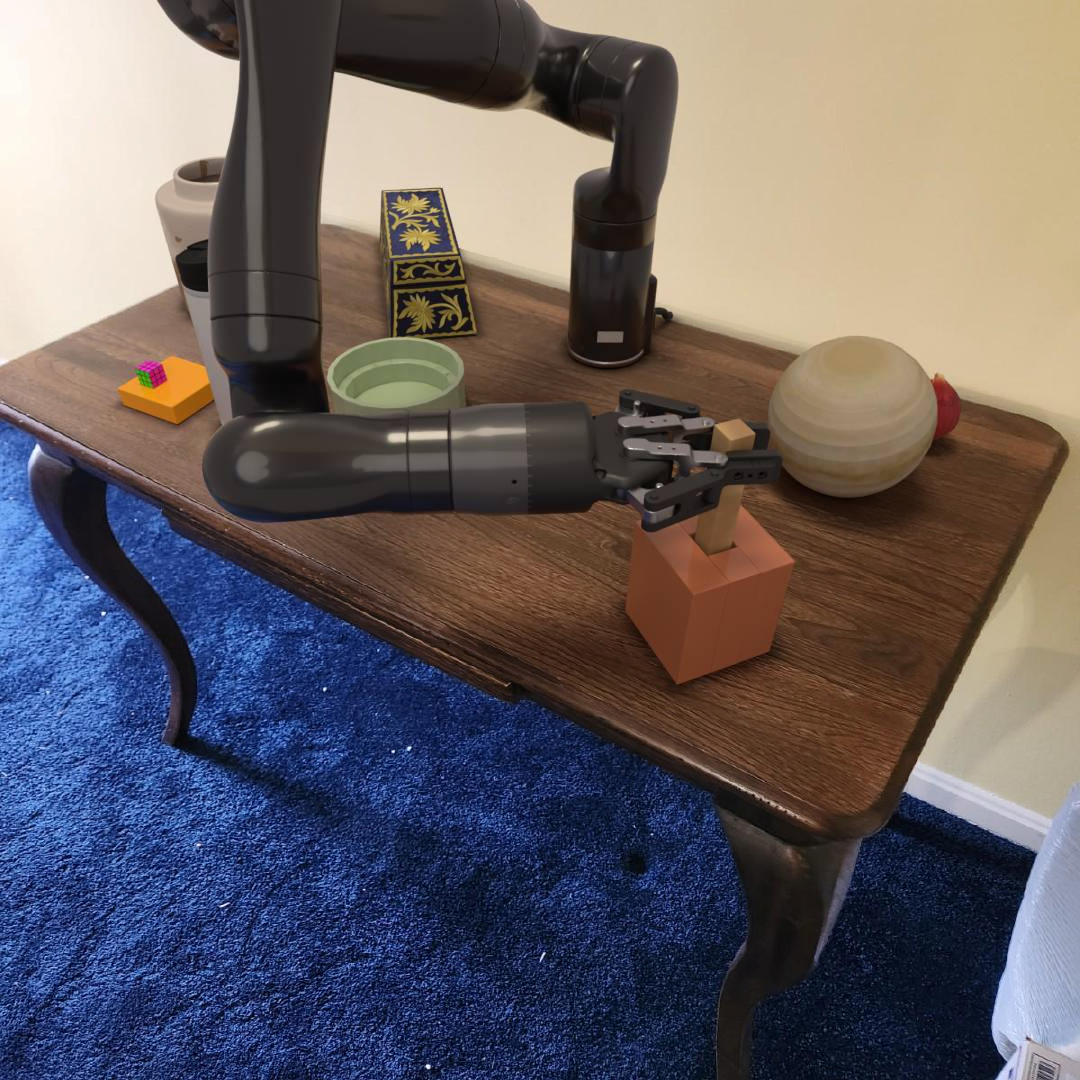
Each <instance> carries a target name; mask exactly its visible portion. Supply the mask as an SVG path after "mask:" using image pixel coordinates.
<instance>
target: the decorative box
mask: <svg viewBox="0 0 1080 1080" xmlns="http://www.w3.org/2000/svg"><path fill="white" fill-rule="evenodd" d="M450 213H451V212H450V210H449V206H448V203H447V199H446V196H445V191H444V187H442V188H441V187H424V188H404V189H403V188H402V189H401V188H400V189H385V190H383V189H382V190H381V191H380V215H379V217H380V219H379V251H380V260H381V269H382V280H383V287H384V288H383V289H384V296H385V297H384V298H385V306H386V315H387V324H388V333H389V338H396V337H412V338H420V339H428V340H432V339H444V338H446V339H447V338H455V337H457V338H458V337H467V336H477V335H478V332H477V328H476V322H475V318H474V312H473V307H472V302H471V298H470V291H469V287H468V282H467V278H466V273H465V269H464V263H463V259H462V254H461V251H460V246H459V243H458V242H459V241H458V239H457V235H456V232H455V228H454V224H453V221H452V217H451V214H450Z"/></svg>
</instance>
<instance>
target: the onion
mask: <svg viewBox="0 0 1080 1080" xmlns="http://www.w3.org/2000/svg"><path fill="white" fill-rule="evenodd" d="M930 381H931V383H932V386H933V388H934V392H935V395H936V399H937V425H936V429H935V433H934V437H933V440H932V441H936V440H939V439H941V438H944V437H945V436H947V435H949V434H950V433H951V432H952V431H953V430H955V428H956V427H957V425H958V423H959V420H960V416H961V411H962V402H961V398H960V395H959V394H958V392H957V391H956V390H955V388H954V387H953V386H952V385H951V384H950V383H949V382H948V380H947V379H946V378H945V375H944V374H943V373H941V372H936V373H935V374H934V377H933V379H931V378H930Z"/></svg>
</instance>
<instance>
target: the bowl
mask: <svg viewBox="0 0 1080 1080" xmlns="http://www.w3.org/2000/svg"><path fill="white" fill-rule="evenodd" d="M464 364H465V363H464V361H463V360H462V358H461V357H460V355H459V354H458V353H457V351H455V350H453V349H452V348H451V347H448V346H447V345H446V344H443V343H440V342H437V341H434V340H432V339H420V338H412V337H396V338H390V337H385V338H380V339H375V340H370V341H366V342H363V343H362V344H361V343H360V344H358V345H356V346H353V347H351V348H348V349H347V350H346V351H344V352H343V353H341V354H340V355H338V356H337V357H336V358H335V359H334V360H333V362H332V363H331V364H330V365H329V367H328V368H327V375H326V385H327V388H328V389H327V390H328V394H329V395H328V396H329V399H330V405H331V410H332V413H343V414H374V413H382V412H390V411H398V410H418V409H450V411H451V409H453V408H463V407H467V399H466V398H467V397H466V379H465V365H464Z"/></svg>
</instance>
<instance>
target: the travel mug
mask: <svg viewBox="0 0 1080 1080" xmlns="http://www.w3.org/2000/svg"><path fill="white" fill-rule="evenodd" d="M175 260H176V263H177V267H178V271H179V273H180V278H181V283H182V287H183V289H184V294H185V298H186V301H187V305H188V308H189V312H190V314H189V315H190V318H191V322H192V326H193V329H194V332H195V336H196V339H197V343H198V346H199V347H198V348H199V351H200V354H201V357H202V361H203V364H204V366H205V368H206V371H207V375H208V378H209V382H210V385H211V389H212V393H213V396H214V400H213V401H214V403H215V406H216V410H217V413H218V416H219V420H220V423H221V424H220V425H221V426H222V425H224V424H225V423H227V422H228V421H230V420H232V410H231V400H230V390H229V382H228V378H227V375H226V373H225V371H224V370H223V369H222V367H221V366H220V365H219V363H218V362H217V360H216V358H215V355H214V351H213V346H212V340H211V331H210V322H211V321H210V310H209V288H208V239H205V240H202V241H198V242H195V243H193V244H191V245H189V246H187V249H186V250H184V251H182V252H181V253H180V254H178V255H176V257H175Z"/></svg>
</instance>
